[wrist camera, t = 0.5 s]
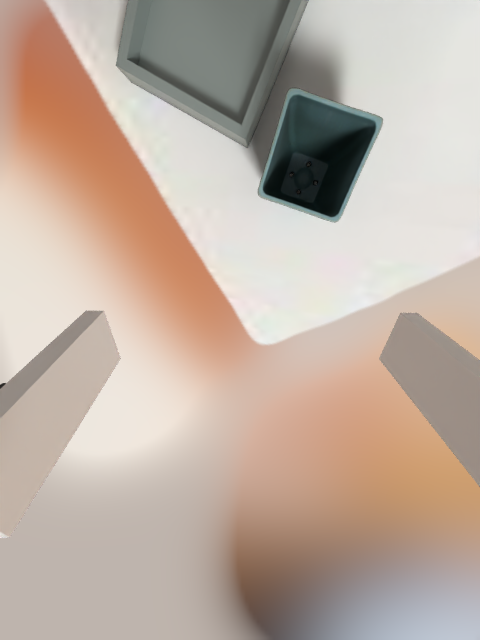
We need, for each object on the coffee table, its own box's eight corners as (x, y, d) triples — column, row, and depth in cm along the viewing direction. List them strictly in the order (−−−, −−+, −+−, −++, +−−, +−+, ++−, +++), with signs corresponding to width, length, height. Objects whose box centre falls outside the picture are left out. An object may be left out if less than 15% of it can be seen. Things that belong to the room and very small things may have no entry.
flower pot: (259, 204, 31) (255, 195, 23) (283, 127, 28) (289, 83, 19) (319, 225, 31) (338, 224, 23) (350, 151, 28) (386, 117, 19)
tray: (174, -122, 22) (161, -173, 19) (320, -28, 23) (327, -64, 20) (131, 82, 28) (115, 65, 25) (247, 148, 29) (245, 139, 26)
